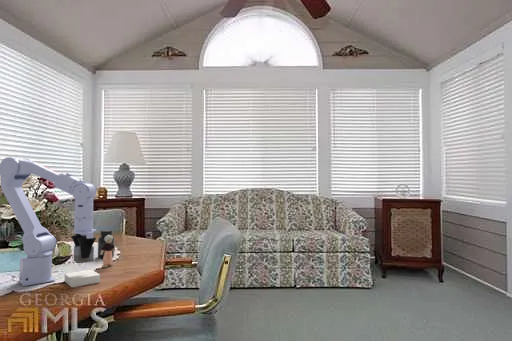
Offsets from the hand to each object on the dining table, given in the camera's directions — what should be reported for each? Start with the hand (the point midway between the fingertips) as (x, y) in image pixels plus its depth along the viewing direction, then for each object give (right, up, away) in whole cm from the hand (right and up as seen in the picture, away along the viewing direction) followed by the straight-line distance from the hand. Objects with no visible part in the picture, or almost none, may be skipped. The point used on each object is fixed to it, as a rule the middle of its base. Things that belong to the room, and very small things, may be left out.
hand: (82, 256), depth 124 cm
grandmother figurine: (-1, -9, +22) cm, 24 cm away
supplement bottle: (-8, -10, +38) cm, 40 cm away
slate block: (0, -2, 0) cm, 2 cm away
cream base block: (0, -9, 0) cm, 9 cm away
